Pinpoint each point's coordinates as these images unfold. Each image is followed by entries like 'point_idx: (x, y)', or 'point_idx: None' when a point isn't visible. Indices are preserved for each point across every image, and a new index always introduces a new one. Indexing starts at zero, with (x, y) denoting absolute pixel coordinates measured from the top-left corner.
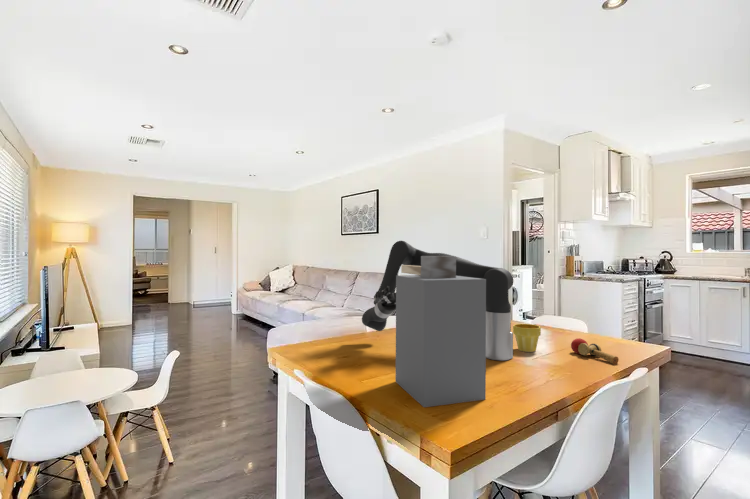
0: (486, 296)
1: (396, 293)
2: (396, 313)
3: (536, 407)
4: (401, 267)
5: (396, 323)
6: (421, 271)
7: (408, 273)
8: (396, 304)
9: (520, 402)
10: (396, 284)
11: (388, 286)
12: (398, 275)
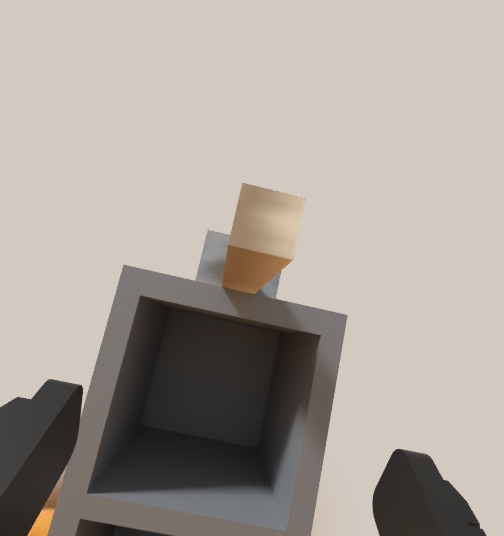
0: None
1: (334, 383)
2: (320, 463)
3: (41, 512)
4: (300, 218)
5: (313, 505)
6: (276, 291)
7: (270, 279)
8: (326, 426)
9: (41, 529)
10: (340, 348)
11: (408, 451)
12: (338, 313)
